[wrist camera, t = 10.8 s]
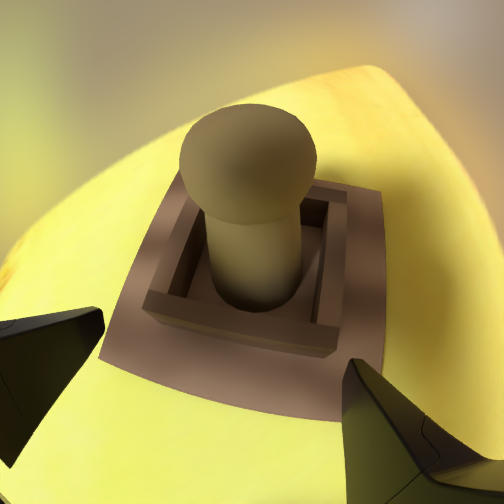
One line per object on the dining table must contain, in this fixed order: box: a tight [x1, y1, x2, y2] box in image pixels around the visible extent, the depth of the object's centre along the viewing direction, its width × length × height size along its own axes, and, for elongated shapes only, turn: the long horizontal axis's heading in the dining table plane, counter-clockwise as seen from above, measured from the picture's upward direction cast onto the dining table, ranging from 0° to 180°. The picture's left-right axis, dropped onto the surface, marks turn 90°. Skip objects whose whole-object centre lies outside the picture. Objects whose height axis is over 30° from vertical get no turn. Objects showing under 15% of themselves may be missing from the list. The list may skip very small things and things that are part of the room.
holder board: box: [98, 170, 386, 422], centre depth 17 cm, size 18×18×4 cm
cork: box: [179, 104, 317, 313], centre depth 13 cm, size 6×6×11 cm
